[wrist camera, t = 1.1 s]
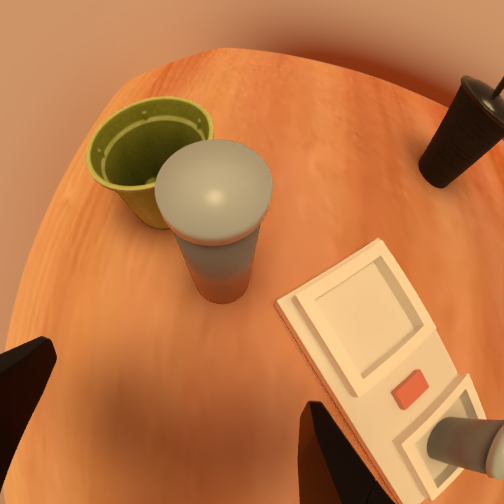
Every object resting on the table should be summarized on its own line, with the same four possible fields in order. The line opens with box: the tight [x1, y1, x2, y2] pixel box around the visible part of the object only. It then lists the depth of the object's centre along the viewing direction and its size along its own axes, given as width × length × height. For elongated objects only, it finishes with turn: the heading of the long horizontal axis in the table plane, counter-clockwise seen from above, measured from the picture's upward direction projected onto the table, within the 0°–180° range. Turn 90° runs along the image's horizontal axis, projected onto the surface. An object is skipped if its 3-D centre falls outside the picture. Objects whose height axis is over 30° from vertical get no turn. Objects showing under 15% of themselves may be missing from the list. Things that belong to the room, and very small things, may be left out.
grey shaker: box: [155, 139, 273, 304], centre depth 17 cm, size 5×5×13 cm
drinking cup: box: [419, 76, 504, 188], centre depth 21 cm, size 8×8×20 cm
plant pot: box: [86, 96, 214, 229], centre depth 22 cm, size 9×9×9 cm
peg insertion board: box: [274, 238, 504, 504], centre depth 16 cm, size 11×25×10 cm, turn 30°
